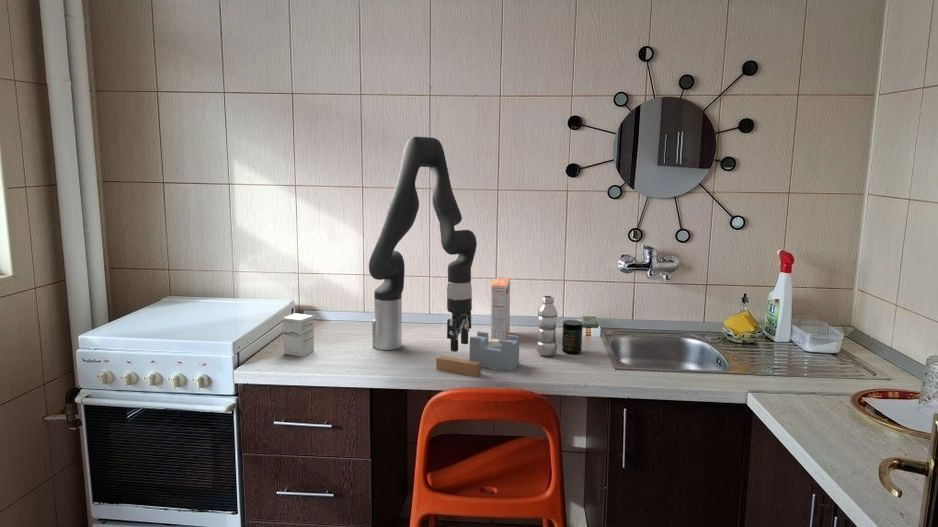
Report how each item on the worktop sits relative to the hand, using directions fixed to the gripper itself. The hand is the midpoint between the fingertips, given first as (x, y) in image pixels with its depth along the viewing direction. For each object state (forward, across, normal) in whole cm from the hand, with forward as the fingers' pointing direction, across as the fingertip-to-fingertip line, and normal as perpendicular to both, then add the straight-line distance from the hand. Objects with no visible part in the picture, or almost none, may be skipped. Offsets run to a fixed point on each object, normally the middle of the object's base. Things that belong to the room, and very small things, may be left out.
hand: (459, 347), depth 211 cm
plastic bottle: (+8, -27, +21) cm, 35 cm away
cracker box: (+8, -41, 0) cm, 42 cm away
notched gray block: (+8, -11, +8) cm, 15 cm away
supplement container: (+8, -34, +28) cm, 45 cm away
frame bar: (+8, 0, 0) cm, 8 cm away
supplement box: (+7, +3, -56) cm, 57 cm away
